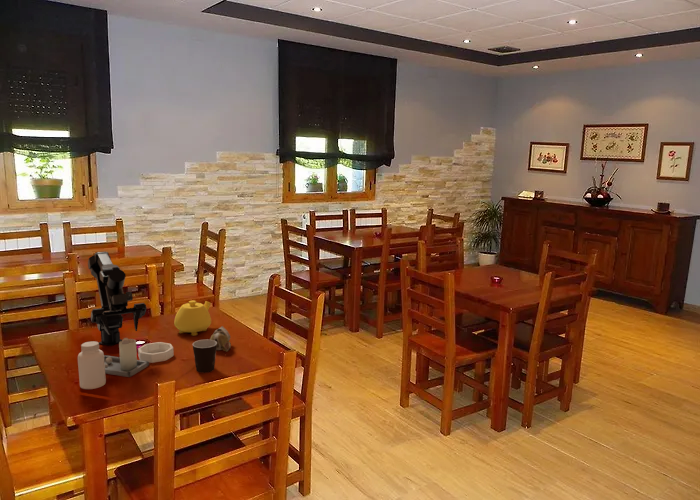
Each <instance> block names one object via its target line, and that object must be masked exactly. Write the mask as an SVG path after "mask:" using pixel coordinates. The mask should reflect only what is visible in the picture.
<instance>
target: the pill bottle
mask: <svg viewBox="0 0 700 500" xmlns="http://www.w3.org/2000/svg"><path fill="white" fill-rule="evenodd" d="M80 347H81V348H80V349H81V352H79V353H78V355H77V366H78V367H77V368H78V369H77V370H78V379H79V380H78V381H79V387H80V388H81V389H83V390H93V389H98V388H101V387H103V386H104V385H106V382H107V377H106V373H105V363H104V355H105V354H104V351H103V350H101V349H100V344H99V342H98V341H96V340H95V341H94V340H93V341H86V342H83V343H82V344H80Z"/></svg>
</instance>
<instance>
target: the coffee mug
mask: <svg viewBox="0 0 700 500" xmlns="http://www.w3.org/2000/svg"><path fill="white" fill-rule="evenodd" d="M191 345H192V350H193V351H192V352H193V357H194V363H195V370H196V372H197V373H200V374H208V373H211V372H213V371H214V370H215V364H216V355H217V350H216V348H217V342H216V341H214V340H210V339H208V338H207V339H199V340H196V341H194V342H192V344H191Z"/></svg>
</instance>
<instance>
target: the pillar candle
mask: <svg viewBox="0 0 700 500" xmlns="http://www.w3.org/2000/svg"><path fill="white" fill-rule="evenodd" d="M118 348H119V349H118V350H119V357H120V371H126V372H130V371H131V370H133V369H135V368H136V367H137V360H138V357H137V355H138V351H137V340H136V339H134V338H128V337H124V338H123V339H122V341H120V342H118Z"/></svg>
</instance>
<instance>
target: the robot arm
mask: <svg viewBox="0 0 700 500" xmlns="http://www.w3.org/2000/svg"><path fill="white" fill-rule="evenodd" d="M87 267H88V270H89V271H90V275H91V276H93V278H95V279H96V285H97V288H98V296H99V300H100V305H101V307H99V308H93V309H92V310H91V313H90V320H91V323H92V324H95V325H97V329H98V331H99V332H100V341H99V342H98V343H99V345H105V346H114V345H116V344H119V342H120V341H122V340H123V339H122V338H121V332H120V329H122V328H123V320H124V316H123V315H125V314H126V315H127V314H132V315H133V318H132V319H133V325H134V330H135V332H137V331H138V327H139V326H138V325H139V321H140V319H141V318H143V317H144V316H145V315H146V311H147V309H148V308H147V304H146V303H145V302H139V303H134V305H133V307H128V305H129V304H128V303H129V302H131V301H133V299H134V298H133V297H134V296H133V293H132V291H126V293H124V289H123V287H124V285H125V280H126V278H127V277H126V275H127V274H126V273H125V271H123V270H122V269H121V268H120V267H119V265H117V264H114V263H113V262H112V259H111V256H110V254H109V252H108V251H97V252H95V253H94V254H93V255H92V256H90V257H89V258H88V260H87Z"/></svg>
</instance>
